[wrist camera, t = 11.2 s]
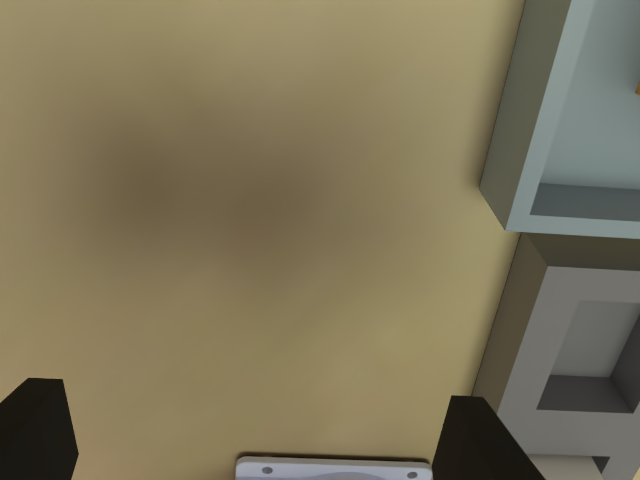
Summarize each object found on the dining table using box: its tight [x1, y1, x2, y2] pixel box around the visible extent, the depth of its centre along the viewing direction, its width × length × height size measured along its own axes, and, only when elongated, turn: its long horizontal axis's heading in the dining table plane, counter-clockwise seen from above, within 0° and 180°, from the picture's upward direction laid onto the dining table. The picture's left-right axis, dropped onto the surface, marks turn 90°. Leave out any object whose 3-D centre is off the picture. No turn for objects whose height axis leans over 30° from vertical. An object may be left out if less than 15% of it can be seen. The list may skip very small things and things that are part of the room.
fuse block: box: [472, 232, 640, 480], centre depth 24 cm, size 7×16×2 cm, turn 175°
